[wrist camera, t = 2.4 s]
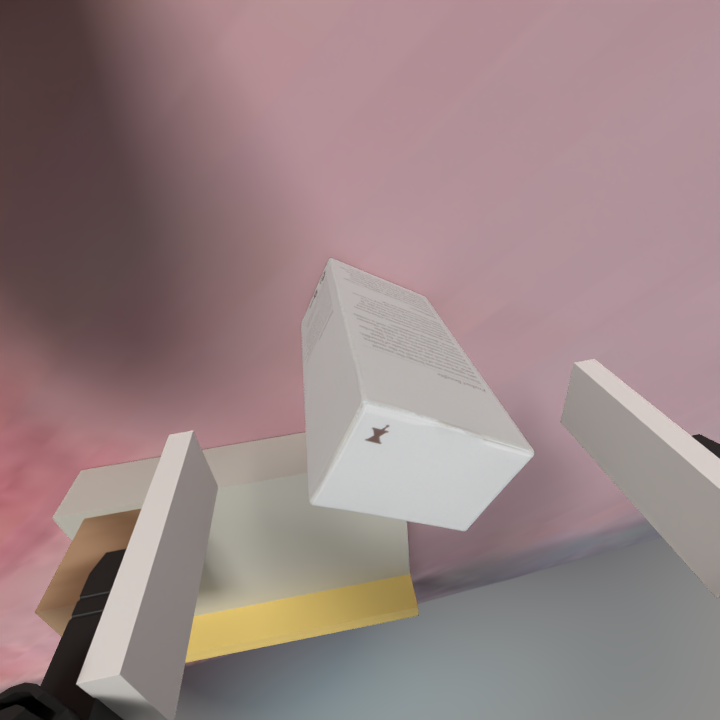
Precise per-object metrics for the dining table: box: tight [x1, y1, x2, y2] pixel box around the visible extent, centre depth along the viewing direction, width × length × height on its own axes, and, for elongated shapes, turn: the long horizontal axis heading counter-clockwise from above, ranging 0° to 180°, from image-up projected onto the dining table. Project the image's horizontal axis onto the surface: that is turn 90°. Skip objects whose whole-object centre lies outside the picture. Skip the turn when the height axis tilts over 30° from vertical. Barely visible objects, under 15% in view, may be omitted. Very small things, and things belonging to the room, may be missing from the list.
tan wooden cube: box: [35, 508, 142, 636], centre depth 22 cm, size 5×5×5 cm
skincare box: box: [301, 258, 534, 531], centre depth 17 cm, size 6×4×12 cm
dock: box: [53, 432, 419, 663], centre depth 27 cm, size 20×14×6 cm
